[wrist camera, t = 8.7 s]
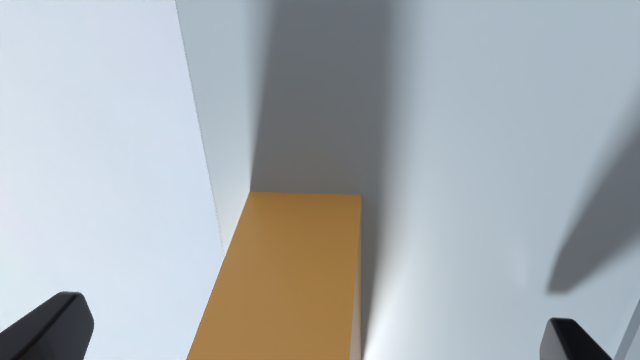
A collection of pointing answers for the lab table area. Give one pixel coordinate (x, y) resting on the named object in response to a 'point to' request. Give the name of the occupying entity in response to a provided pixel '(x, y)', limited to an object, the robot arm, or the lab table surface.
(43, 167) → the lab table surface
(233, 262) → the lid
